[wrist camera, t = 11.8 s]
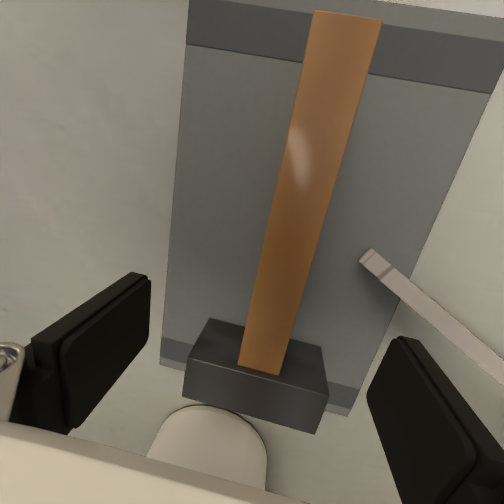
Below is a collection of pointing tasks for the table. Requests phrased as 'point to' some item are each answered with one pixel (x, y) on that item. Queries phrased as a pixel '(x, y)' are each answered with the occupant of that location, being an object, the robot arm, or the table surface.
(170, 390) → the table surface
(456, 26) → the grey towel
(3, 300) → the table surface
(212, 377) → the hammer
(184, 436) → the mug
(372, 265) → the caliper
